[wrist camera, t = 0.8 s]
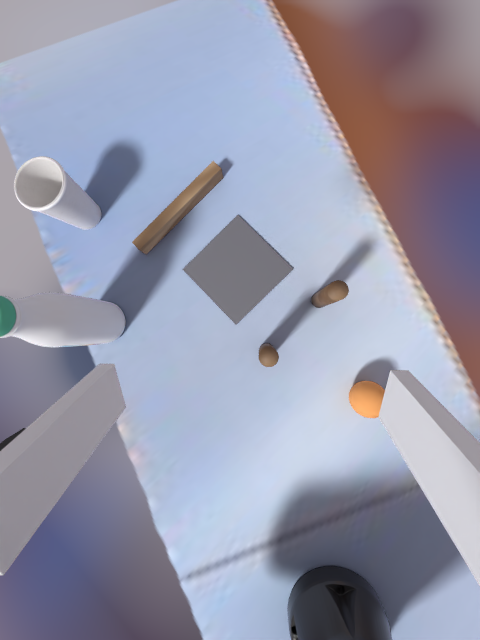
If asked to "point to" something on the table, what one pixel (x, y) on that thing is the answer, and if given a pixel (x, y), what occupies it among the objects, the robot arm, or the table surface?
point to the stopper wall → (179, 208)
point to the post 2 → (330, 294)
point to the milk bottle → (60, 320)
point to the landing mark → (237, 269)
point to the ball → (366, 398)
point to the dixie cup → (55, 193)
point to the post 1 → (268, 355)
